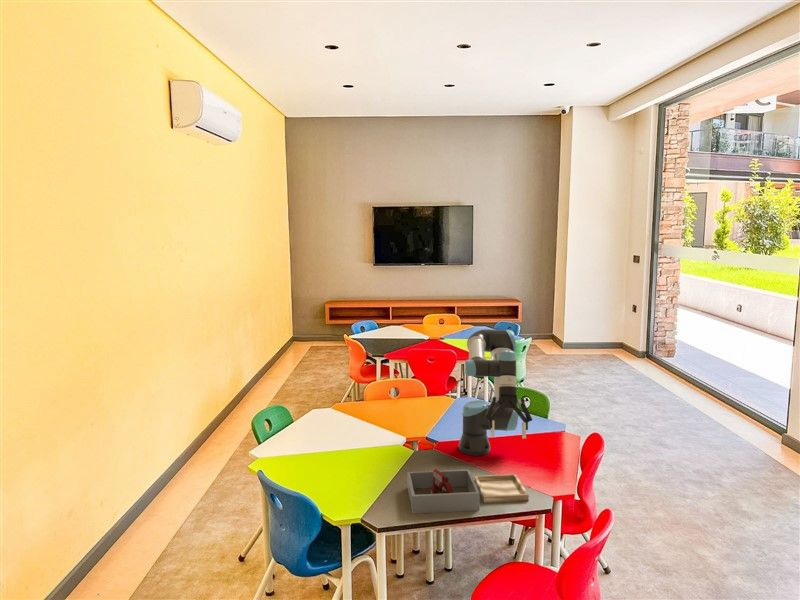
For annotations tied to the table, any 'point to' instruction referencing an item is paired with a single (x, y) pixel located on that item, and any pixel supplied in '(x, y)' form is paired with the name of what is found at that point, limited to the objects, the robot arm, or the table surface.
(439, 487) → the toy fire truck
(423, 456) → the table surface
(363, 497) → the table surface
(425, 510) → the bin
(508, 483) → the tray
